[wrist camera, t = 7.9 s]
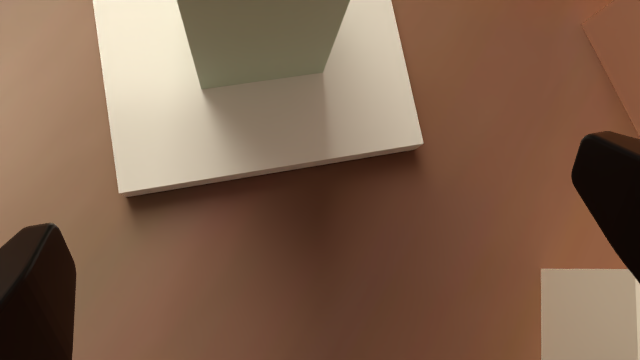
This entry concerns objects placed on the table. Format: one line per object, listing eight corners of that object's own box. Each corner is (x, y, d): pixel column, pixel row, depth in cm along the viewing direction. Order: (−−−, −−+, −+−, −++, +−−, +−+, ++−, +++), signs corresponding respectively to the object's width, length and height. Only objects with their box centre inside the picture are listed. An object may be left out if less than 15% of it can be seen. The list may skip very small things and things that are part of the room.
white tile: (415, 149, 20) (423, 143, 19) (126, 197, 18) (118, 193, 17) (359, -100, 21) (364, -118, 20) (88, -79, 20) (79, -97, 19)
